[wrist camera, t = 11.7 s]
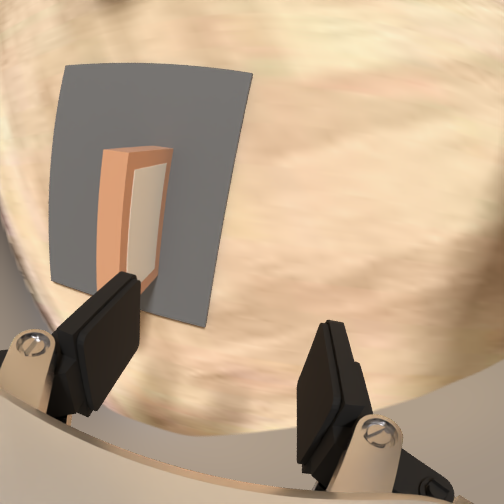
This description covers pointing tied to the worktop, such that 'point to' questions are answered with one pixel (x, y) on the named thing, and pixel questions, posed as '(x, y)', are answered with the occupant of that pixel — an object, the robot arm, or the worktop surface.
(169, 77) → the mat
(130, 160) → the block
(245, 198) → the worktop surface
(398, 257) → the worktop surface
